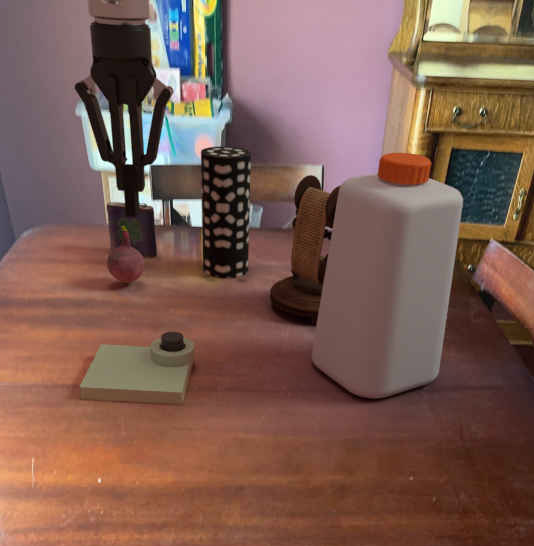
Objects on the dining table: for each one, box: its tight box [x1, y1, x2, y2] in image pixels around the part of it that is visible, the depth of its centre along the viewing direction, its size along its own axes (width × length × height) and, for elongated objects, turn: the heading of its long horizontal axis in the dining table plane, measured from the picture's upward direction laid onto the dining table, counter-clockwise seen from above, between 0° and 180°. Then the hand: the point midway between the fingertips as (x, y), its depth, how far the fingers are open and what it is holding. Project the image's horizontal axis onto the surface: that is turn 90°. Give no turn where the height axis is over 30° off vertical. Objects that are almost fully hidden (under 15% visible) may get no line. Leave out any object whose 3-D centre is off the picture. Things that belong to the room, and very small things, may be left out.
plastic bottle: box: [311, 152, 464, 399], centre depth 87 cm, size 15×15×28 cm
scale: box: [79, 336, 196, 406], centre depth 90 cm, size 13×12×4 cm
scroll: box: [269, 174, 341, 326], centre depth 106 cm, size 15×15×20 cm
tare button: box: [160, 331, 184, 352], centre depth 91 cm, size 3×3×2 cm
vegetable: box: [106, 226, 146, 286], centre depth 114 cm, size 6×6×10 cm
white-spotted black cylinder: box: [200, 146, 252, 279], centre depth 118 cm, size 8×8×20 cm
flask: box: [105, 201, 158, 259], centre depth 126 cm, size 9×3×11 cm, turn 76°
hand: (132, 213), depth 99 cm, fingers closed
